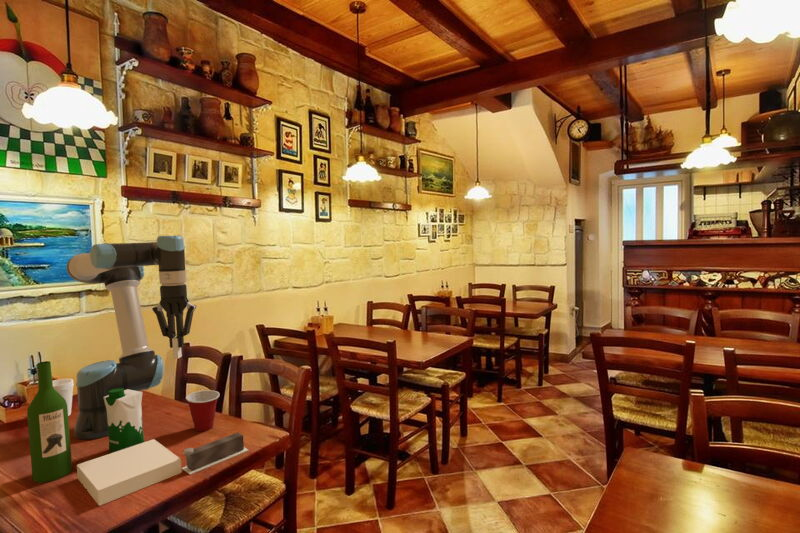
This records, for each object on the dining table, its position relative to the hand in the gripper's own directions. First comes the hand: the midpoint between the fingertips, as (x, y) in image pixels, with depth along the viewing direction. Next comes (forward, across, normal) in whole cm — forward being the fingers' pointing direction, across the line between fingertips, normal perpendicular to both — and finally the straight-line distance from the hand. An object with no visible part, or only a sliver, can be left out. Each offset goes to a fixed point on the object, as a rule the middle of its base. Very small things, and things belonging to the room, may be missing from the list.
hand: (177, 357), depth 142 cm
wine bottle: (+29, -30, -16) cm, 44 cm away
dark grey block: (+28, +14, -12) cm, 34 cm away
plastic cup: (+29, +3, +11) cm, 31 cm away
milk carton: (+29, -16, -2) cm, 33 cm away
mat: (+28, +15, -12) cm, 34 cm away
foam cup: (+29, -58, +30) cm, 71 cm away
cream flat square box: (+28, -7, -19) cm, 35 cm away
